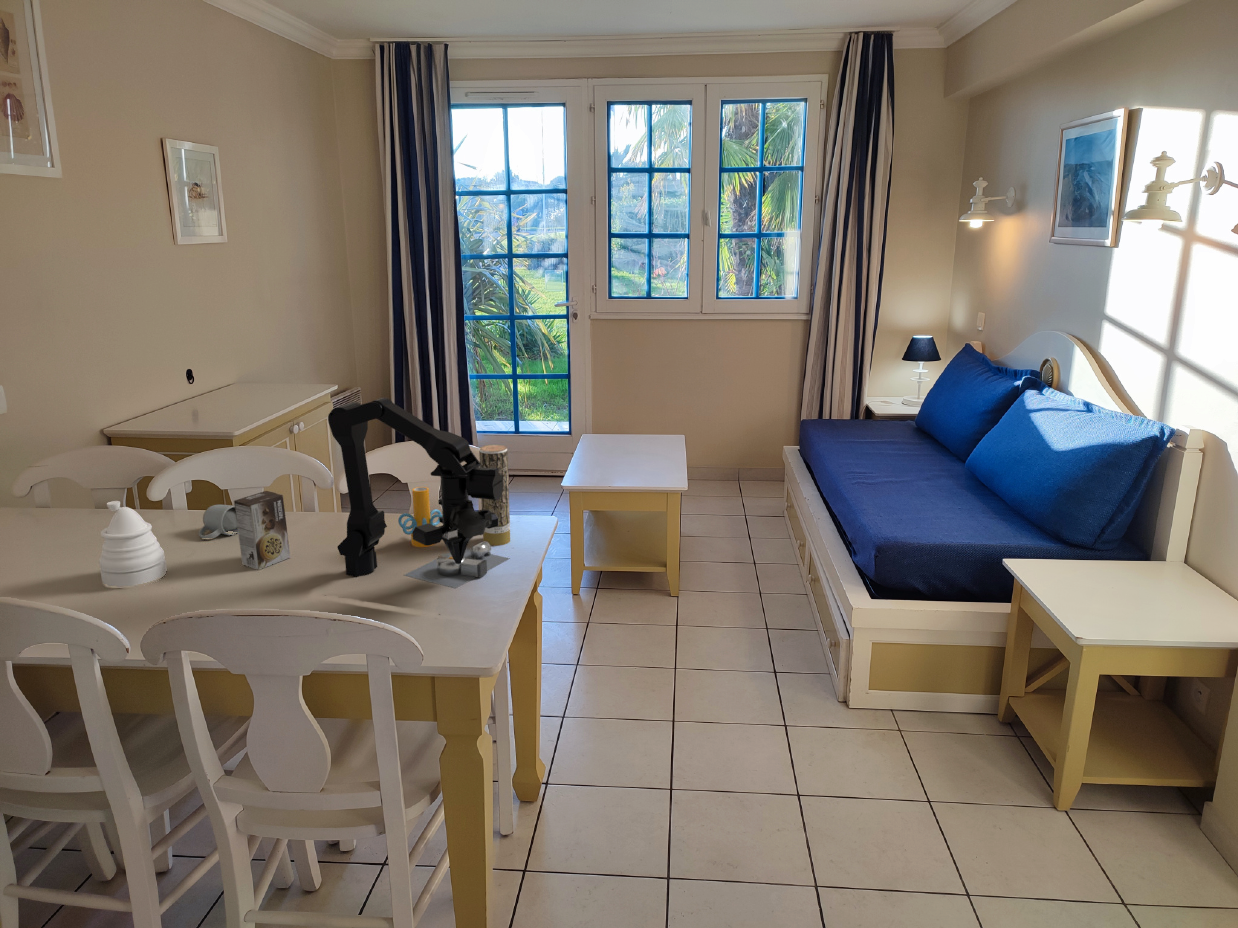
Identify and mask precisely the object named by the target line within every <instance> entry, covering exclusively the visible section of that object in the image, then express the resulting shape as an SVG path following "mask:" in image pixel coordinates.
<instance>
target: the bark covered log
mask: <svg viewBox="0 0 1238 928" xmlns="http://www.w3.org/2000/svg"><path fill="white" fill-rule="evenodd" d="M478 449H479V451H478V452H479V455H478V456H479V462H480V463H481V466H480V467H484V468H492V467H496V468H499V473H500V474H501V476H502V480H503V481H504V487H503V493H502V496H501V498H500V499H499V500H491V499H480V500H481V502H480V504H481V510H482V509H485V510H486V509H489V510H490V511H491V512H493V513H495V514H496V515H497V516H498V520H499V525H498V526H497V527H493V528H490V529H488V528H485V531H484V534H483V535H482V540H483V541H486V542H488V543H489V544H490V546H491V547H492V546H493V547H498V546H504V545H507V544H510V542H511V522H510V521H511V520H510V519H511V517H510V514H511V513H510V490H509V489H510V488H509V484H510V483H509V457H508V455H509V454H508V447H507V446H505V445H501V444H489V445H482V446H480V447H478ZM483 541H482V542H483Z"/></svg>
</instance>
